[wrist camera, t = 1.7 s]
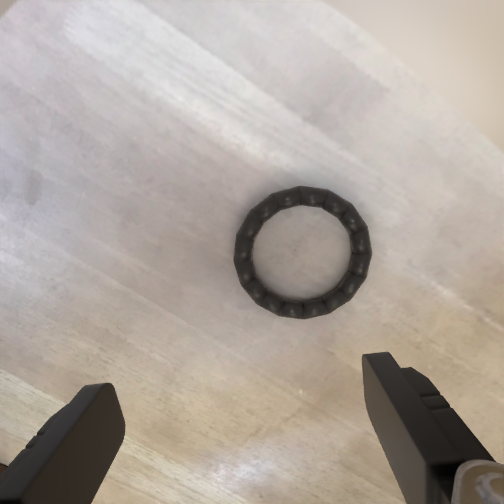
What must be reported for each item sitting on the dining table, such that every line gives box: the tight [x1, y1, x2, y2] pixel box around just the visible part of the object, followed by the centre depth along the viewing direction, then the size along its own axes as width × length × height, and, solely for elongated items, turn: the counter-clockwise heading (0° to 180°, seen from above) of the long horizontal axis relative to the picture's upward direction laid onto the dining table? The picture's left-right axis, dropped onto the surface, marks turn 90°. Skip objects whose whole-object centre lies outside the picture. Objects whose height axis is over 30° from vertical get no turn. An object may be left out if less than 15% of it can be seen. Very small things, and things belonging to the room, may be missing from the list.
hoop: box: [234, 186, 372, 319], centre depth 21 cm, size 9×9×1 cm
